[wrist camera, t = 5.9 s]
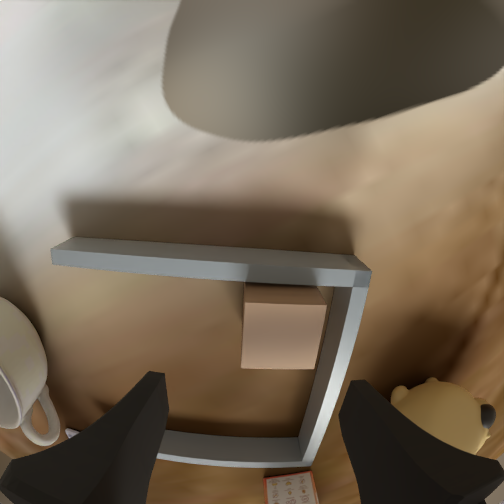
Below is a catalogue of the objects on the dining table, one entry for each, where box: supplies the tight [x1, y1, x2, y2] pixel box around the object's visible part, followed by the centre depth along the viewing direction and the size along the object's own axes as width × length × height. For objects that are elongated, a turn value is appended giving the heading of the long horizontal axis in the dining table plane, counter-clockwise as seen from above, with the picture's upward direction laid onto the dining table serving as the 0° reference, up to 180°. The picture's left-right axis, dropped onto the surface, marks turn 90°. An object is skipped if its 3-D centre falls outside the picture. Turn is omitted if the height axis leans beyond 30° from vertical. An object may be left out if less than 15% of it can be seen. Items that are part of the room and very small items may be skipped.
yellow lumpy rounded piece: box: [391, 377, 496, 455], centre depth 18 cm, size 10×12×11 cm
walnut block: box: [241, 282, 327, 369], centre depth 17 cm, size 4×4×5 cm
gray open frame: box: [51, 237, 372, 468], centre depth 20 cm, size 19×19×3 cm
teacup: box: [0, 297, 60, 446], centre depth 17 cm, size 14×11×8 cm
